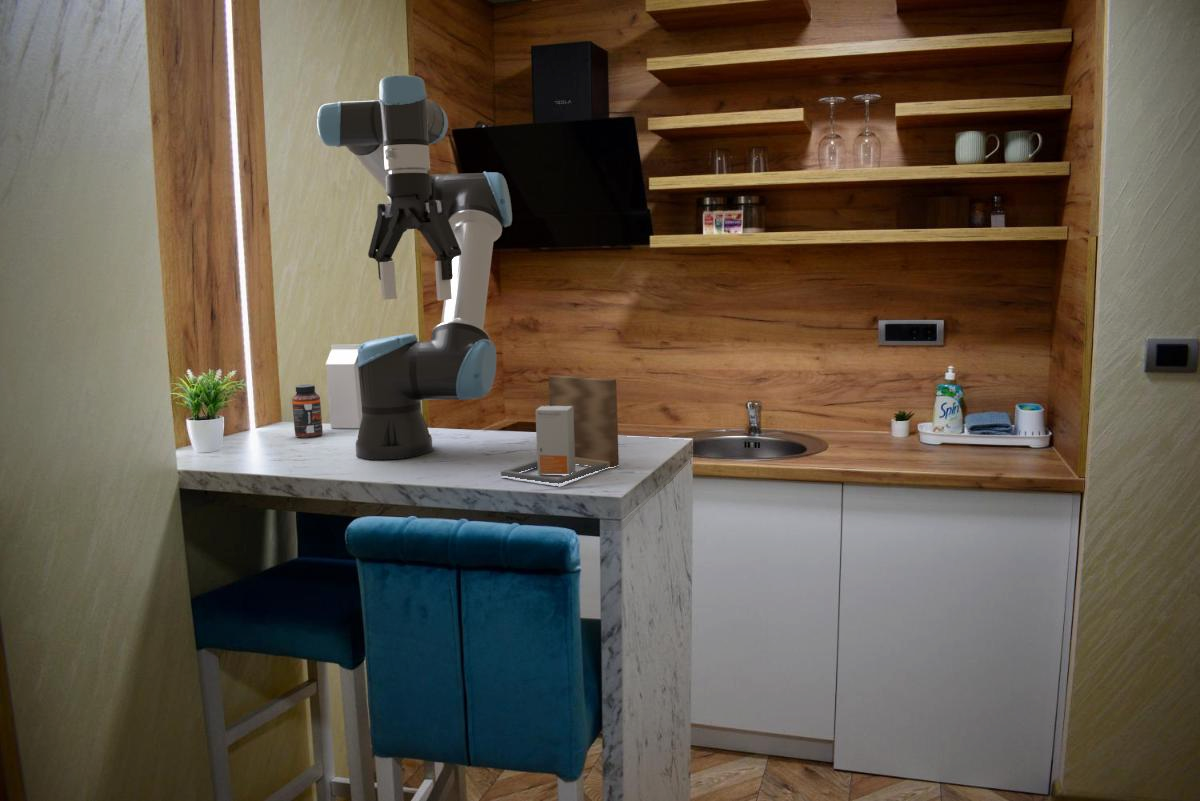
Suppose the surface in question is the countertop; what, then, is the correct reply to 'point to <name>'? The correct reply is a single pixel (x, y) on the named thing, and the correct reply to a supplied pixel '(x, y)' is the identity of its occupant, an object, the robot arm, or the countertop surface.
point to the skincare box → (555, 439)
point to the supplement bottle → (307, 412)
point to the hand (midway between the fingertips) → (416, 299)
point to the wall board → (590, 414)
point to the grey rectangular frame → (594, 464)
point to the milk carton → (344, 386)
